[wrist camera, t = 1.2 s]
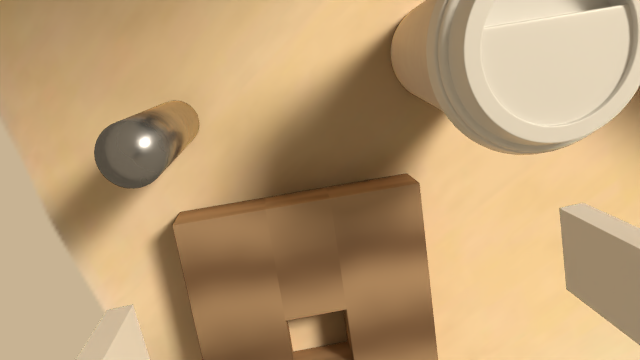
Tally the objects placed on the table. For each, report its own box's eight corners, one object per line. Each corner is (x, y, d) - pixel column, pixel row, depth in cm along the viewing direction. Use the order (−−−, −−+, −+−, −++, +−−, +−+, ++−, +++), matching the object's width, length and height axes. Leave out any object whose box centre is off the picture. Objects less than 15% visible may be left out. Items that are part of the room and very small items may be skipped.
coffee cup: (523, -3, 35) (709, -50, 20) (482, 135, 37) (626, 184, 22) (388, -41, 33) (483, -121, 19) (352, 105, 35) (414, 136, 21)
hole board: (180, 212, 36) (172, 225, 33) (406, 173, 37) (419, 183, 34) (234, 456, 40) (231, 486, 37) (434, 415, 41) (446, 442, 38)
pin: (148, 104, 34) (86, 126, 22) (194, 97, 34) (157, 115, 22) (158, 149, 34) (103, 193, 23) (203, 142, 35) (172, 182, 23)
